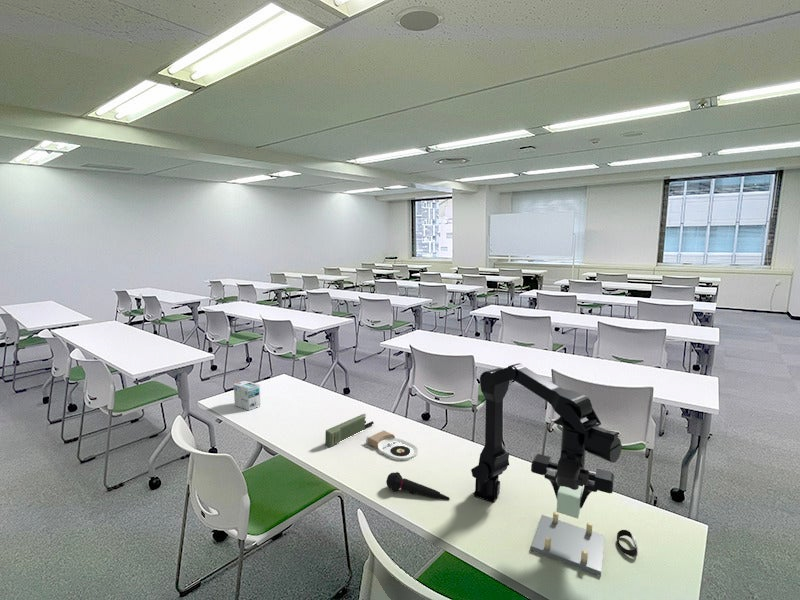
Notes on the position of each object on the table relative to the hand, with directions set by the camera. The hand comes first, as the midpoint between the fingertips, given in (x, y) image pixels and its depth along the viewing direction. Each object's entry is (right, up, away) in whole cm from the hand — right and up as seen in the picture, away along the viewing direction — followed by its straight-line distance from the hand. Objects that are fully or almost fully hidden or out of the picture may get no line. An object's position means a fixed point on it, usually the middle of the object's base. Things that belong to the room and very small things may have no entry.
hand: (569, 503), depth 104 cm
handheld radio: (-62, -3, +60) cm, 86 cm away
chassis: (0, -11, +1) cm, 11 cm away
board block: (0, -1, 0) cm, 1 cm away
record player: (-45, -5, +50) cm, 67 cm away
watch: (+15, -12, +1) cm, 19 cm away
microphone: (-38, -8, +22) cm, 45 cm away
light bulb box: (-114, +2, +87) cm, 143 cm away
